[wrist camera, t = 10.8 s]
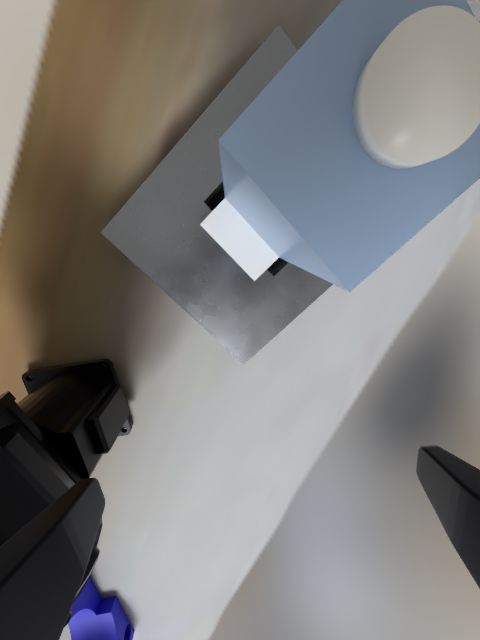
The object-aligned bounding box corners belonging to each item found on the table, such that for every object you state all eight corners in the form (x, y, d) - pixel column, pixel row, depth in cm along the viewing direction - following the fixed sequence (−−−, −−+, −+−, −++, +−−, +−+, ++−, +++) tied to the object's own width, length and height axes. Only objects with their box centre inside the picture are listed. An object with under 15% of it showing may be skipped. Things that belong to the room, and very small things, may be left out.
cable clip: (134, 628, 31) (113, 720, 25) (94, 636, 31) (64, 728, 25) (96, 553, 27) (60, 640, 21) (51, 562, 27) (3, 650, 21)
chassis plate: (242, 352, 21) (243, 364, 19) (113, 232, 18) (100, 232, 16) (394, 213, 19) (413, 211, 17) (272, 49, 16) (278, 23, 14)
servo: (251, 275, 19) (293, 355, 7) (203, 225, 18) (147, 210, 6) (372, 157, 17) (749, -40, 5) (327, 94, 16) (659, -373, 4)
